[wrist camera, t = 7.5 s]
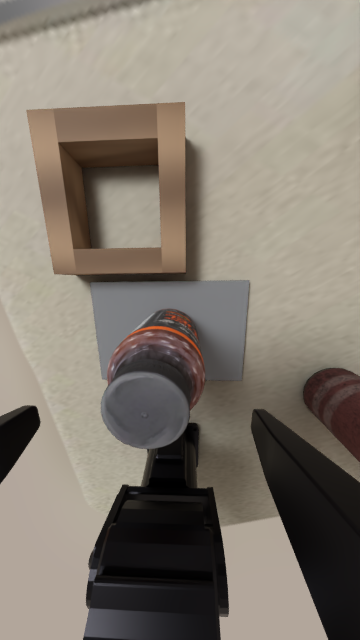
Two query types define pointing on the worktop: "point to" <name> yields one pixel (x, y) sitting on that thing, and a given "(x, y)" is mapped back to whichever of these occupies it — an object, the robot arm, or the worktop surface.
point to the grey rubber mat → (187, 296)
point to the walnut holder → (109, 151)
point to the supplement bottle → (154, 381)
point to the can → (337, 404)
